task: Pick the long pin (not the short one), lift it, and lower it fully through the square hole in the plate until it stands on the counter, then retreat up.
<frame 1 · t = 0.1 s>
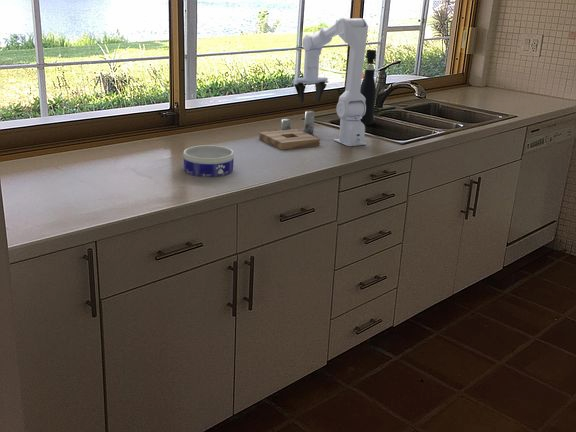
hand: (309, 101, 255), 10 cm above the worktop, fingers open, 7 cm apart
hole plate: (289, 142, 233), on the worktop
wine bottle: (364, 123, 269), on the worktop
dog bowl: (208, 170, 197), on the worktop
short pin: (285, 132, 247), on the worktop
long pin: (308, 135, 245), on the worktop
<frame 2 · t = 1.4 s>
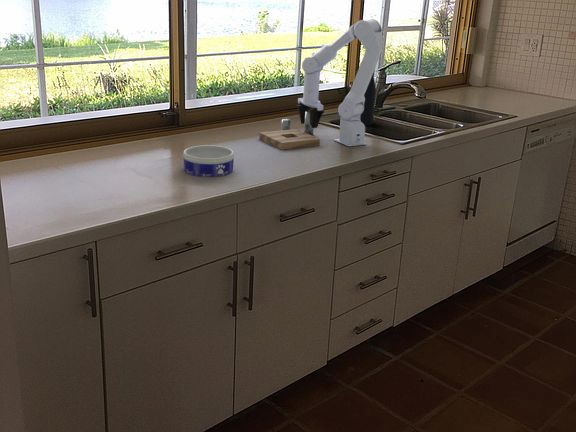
hand: (309, 125, 244), 4 cm above the worktop, fingers open, 7 cm apart
nothing on the worktop moved.
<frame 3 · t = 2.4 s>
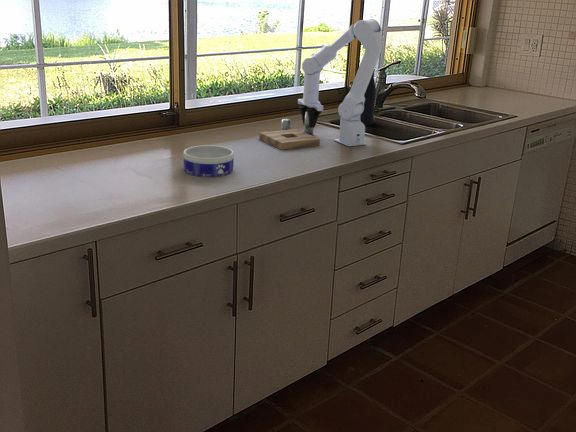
hand: (309, 126, 244), 3 cm above the worktop, fingers closed on long pin, 4 cm apart
long pin: (308, 135, 245), on the worktop, touching gripper
everything else where it was.
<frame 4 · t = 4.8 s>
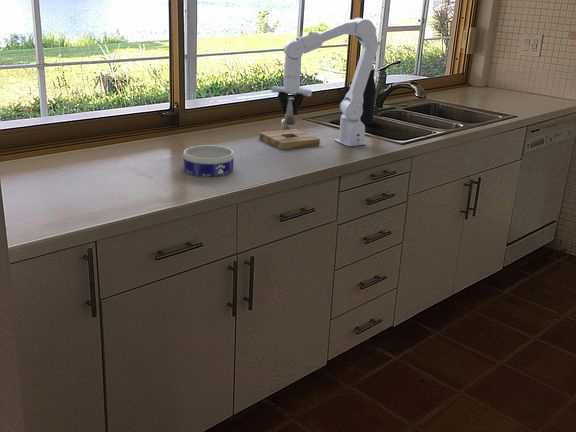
hand: (290, 114, 229), 10 cm above the worktop, fingers closed on long pin, 4 cm apart
long pin: (289, 123, 230), point 7 cm above the worktop, touching gripper
everything else where it was.
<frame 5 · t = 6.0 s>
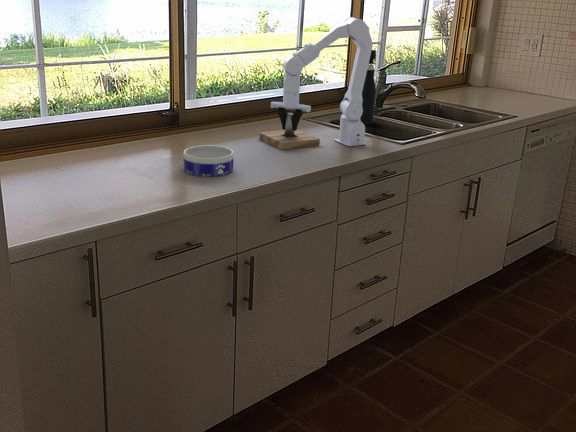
hand: (289, 129, 231), 5 cm above the worktop, fingers closed on long pin, 4 cm apart
long pin: (289, 138, 232), point 1 cm above the worktop, touching gripper
everything else where it was.
when the fingers open (4 cm above the worktop, at t = 7.0 s): long pin stays where it is, resting in hole plate.
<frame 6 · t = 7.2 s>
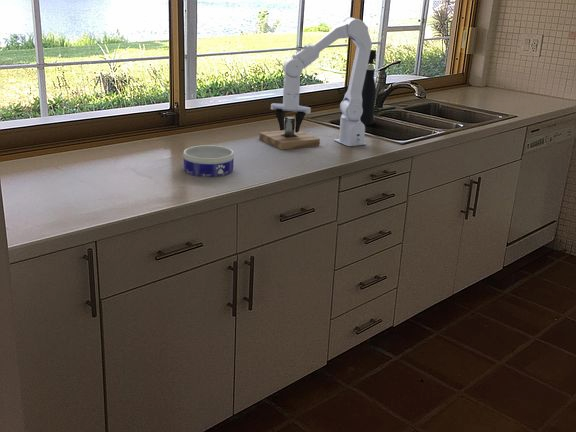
hand: (289, 131, 231), 4 cm above the worktop, fingers open, 5 cm apart
long pin: (289, 142, 233), resting in hole plate
everything else where it was.
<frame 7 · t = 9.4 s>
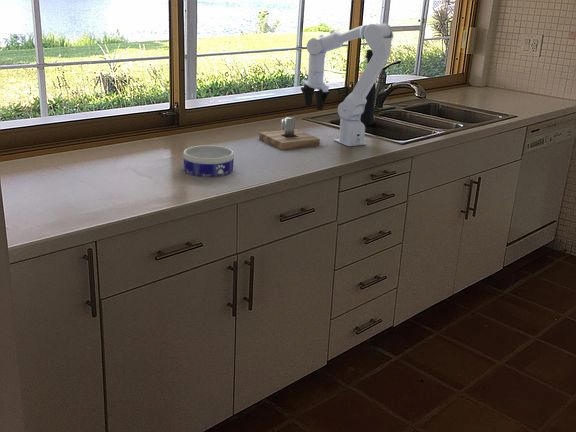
hand: (313, 107, 242), 10 cm above the worktop, fingers open, 7 cm apart
nothing on the worktop moved.
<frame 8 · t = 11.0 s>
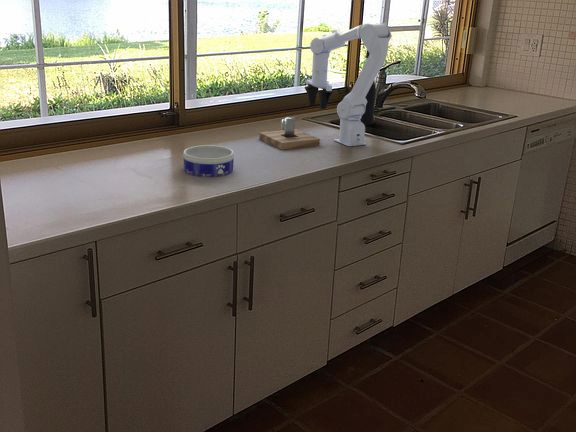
hand: (317, 106, 244), 10 cm above the worktop, fingers open, 7 cm apart
nothing on the worktop moved.
at the end: long pin 0.1 cm off-centre on the hole plate, point 0.0 cm above the hole plate's base; long pin tilted 0°; short pin moved 0.0 cm from its start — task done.
